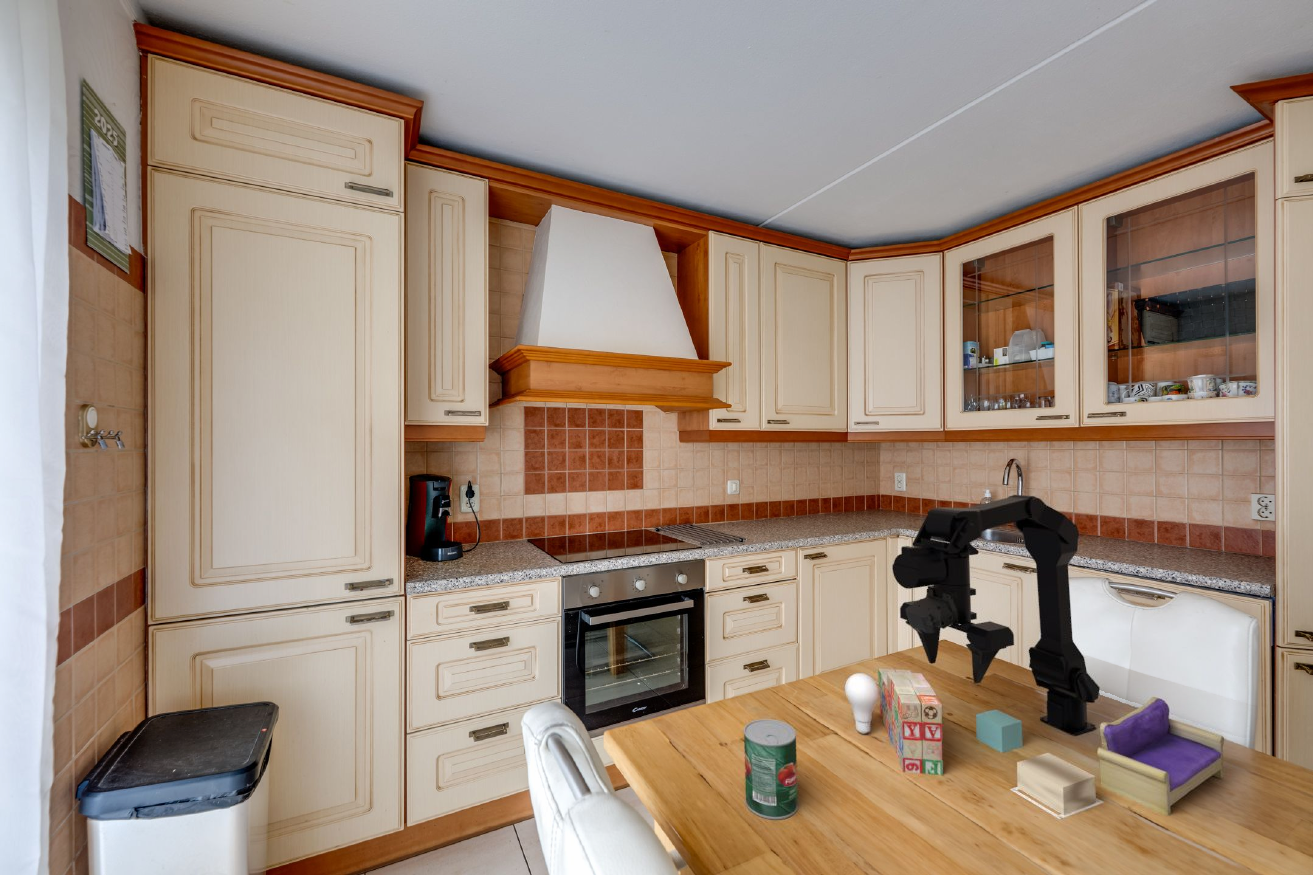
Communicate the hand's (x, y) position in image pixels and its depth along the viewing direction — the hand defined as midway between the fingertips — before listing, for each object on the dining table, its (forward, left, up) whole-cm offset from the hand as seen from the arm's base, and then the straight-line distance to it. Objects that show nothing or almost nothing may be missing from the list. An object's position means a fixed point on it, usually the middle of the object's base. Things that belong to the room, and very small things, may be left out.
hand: (953, 672), depth 98 cm
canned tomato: (+36, -2, -15) cm, 39 cm away
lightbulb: (+9, -13, -15) cm, 22 cm away
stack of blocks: (+4, -7, -15) cm, 17 cm away
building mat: (-4, +13, -15) cm, 20 cm away
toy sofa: (-23, +18, -15) cm, 33 cm away
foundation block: (-4, +14, -14) cm, 20 cm away
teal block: (-10, 0, -15) cm, 18 cm away
